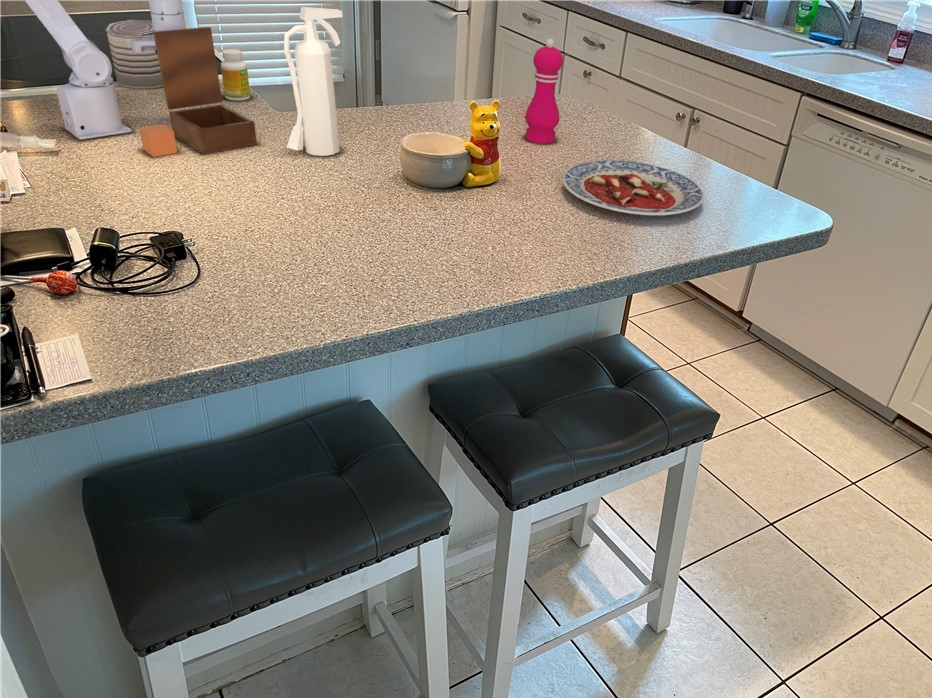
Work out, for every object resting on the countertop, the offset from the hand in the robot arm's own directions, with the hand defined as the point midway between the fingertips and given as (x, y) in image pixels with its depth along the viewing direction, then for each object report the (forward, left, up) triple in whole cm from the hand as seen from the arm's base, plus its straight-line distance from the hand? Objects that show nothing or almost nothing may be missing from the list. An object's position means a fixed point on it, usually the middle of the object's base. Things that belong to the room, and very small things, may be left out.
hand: (179, 87), depth 151 cm
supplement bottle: (+17, +10, -7) cm, 21 cm away
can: (+5, +30, -7) cm, 32 cm away
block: (-11, -14, -7) cm, 19 cm away
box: (0, -13, -7) cm, 14 cm away
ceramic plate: (+48, -77, -7) cm, 91 cm away
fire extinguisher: (+13, -28, -7) cm, 31 cm away
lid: (0, -6, +5) cm, 8 cm away
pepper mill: (+57, -45, -7) cm, 73 cm away
